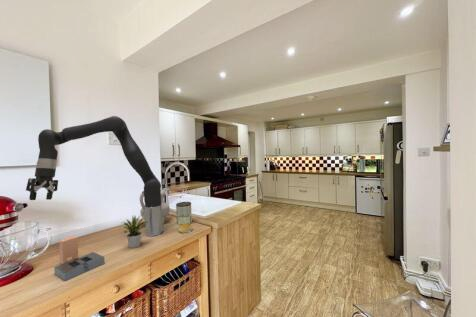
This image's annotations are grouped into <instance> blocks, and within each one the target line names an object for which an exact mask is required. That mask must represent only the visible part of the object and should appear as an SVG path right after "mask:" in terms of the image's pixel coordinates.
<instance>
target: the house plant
mask: <svg viewBox="0 0 476 317" xmlns="http://www.w3.org/2000/svg"><path fill="white" fill-rule="evenodd" d="M140 217H141V215H139V216H138V217H137V216H136V215H133V216H132V218H131V220H132V222H131V221H130V220H129V219H127V218H125V220H126V221H127V222H126V221H125V220H124V221H123V222H121V224H124V225H125V226H123V229H124V230H123V233H122V234H126V233H128V234H127V235H126V239H127V243H128V248H129V249H135V248H138V247H140V245H141V242H142V240H141V239H142V235H143V234H142V232H141V230H142V229H144V228H145V229H146V228H147V227H146V221H145V219H143V218H144V217H143V218H142V217H141V218H140ZM139 219H140V220H139ZM148 222H150V221H148ZM125 229H127V230H125Z"/></svg>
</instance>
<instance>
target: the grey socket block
mask: <svg viewBox="0 0 476 317" xmlns="http://www.w3.org/2000/svg"><path fill="white" fill-rule="evenodd" d="M102 265H105V256H103V255H101V254H100V253H99V254H98V253H97V252H94V251H91V252H90V253H88V254H85V255H82V256H78V258H76V259H74V260H72V259H70V260H67V262H66V263H63V264H60V263H59V264H58V265H56V266H54V268H53V270H54V275H55V276H56V277H59V279H61V280H62V281H64V282H66V281H68V280H71V279H73V278H75V277H77V276H80V275H82V274H85V273H86V272H88V271H92V270H94V269H96V268H98V267H100V266H102Z"/></svg>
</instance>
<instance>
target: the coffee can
mask: <svg viewBox="0 0 476 317" xmlns="http://www.w3.org/2000/svg"><path fill="white" fill-rule="evenodd" d="M175 206H176V208H175V210H176V225H177V226H179V225H182V224H189V225H191V224H192V223H193V222H192V220H193V218H192V216H193V215H192V202H191V201H179V202H177V203H176V204H175ZM191 222H192V223H191ZM190 223H191V224H190Z"/></svg>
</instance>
